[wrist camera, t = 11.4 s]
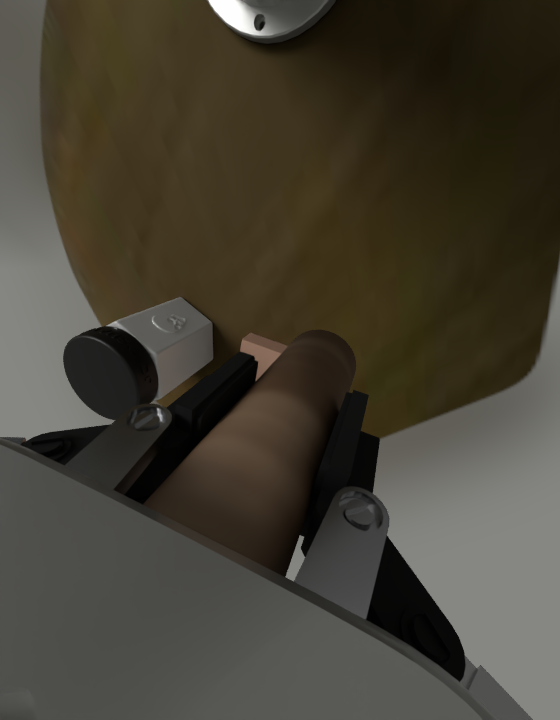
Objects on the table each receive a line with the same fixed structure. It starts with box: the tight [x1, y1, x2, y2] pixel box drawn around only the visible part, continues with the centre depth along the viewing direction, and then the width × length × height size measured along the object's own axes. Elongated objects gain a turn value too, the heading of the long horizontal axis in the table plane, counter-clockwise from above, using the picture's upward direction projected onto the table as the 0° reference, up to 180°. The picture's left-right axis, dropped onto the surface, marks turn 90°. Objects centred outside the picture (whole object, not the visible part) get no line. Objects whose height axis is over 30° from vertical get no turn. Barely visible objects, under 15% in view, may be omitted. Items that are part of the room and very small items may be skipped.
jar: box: [63, 297, 213, 420], centre depth 32 cm, size 9×8×12 cm
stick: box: [143, 330, 356, 577], centre depth 10 cm, size 3×3×12 cm
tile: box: [240, 333, 288, 382], centre depth 35 cm, size 2×8×12 cm
